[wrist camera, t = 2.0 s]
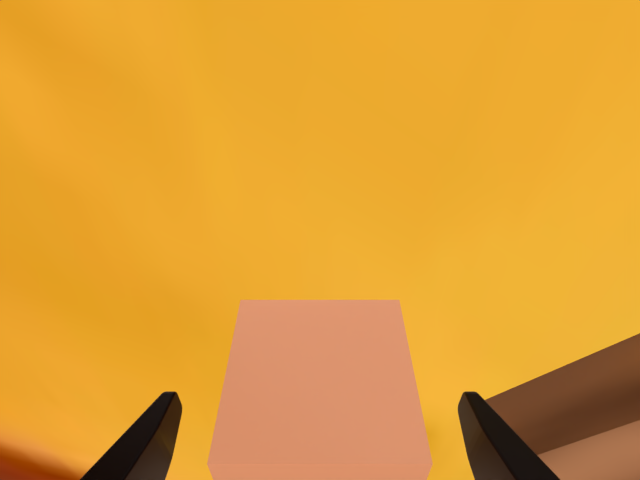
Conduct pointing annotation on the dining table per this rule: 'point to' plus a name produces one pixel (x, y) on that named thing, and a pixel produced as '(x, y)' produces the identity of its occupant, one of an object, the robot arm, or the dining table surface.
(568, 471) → the base
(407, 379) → the cube
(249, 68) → the dining table surface
